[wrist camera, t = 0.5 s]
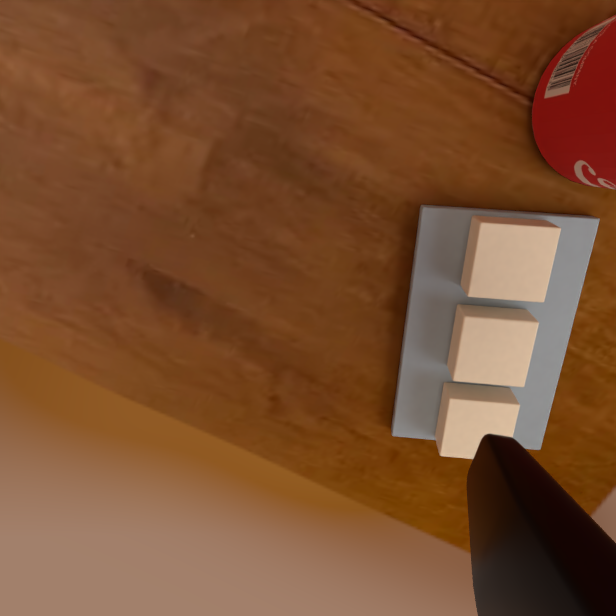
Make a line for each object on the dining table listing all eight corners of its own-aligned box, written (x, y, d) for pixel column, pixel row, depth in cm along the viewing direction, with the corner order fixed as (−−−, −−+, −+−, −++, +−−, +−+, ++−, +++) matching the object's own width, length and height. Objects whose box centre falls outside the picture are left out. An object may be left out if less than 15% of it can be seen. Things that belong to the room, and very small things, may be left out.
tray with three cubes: (536, 443, 25) (552, 471, 23) (390, 429, 25) (393, 455, 23) (594, 216, 21) (619, 226, 19) (420, 204, 21) (427, 212, 19)
